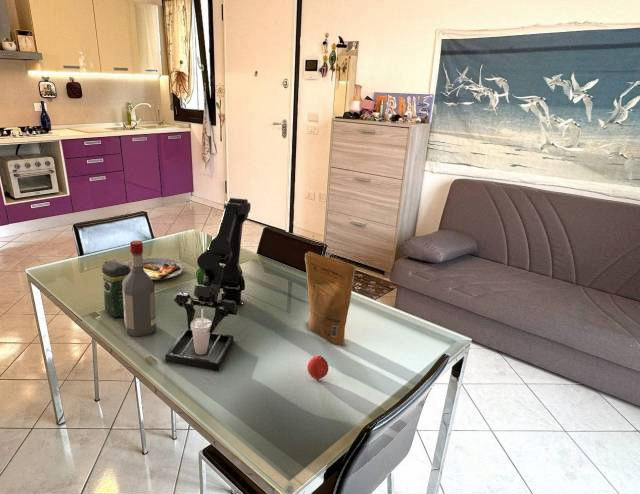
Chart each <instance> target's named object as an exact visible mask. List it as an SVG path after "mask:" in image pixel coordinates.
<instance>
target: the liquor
mask: <svg viewBox="0 0 640 494" xmlns="http://www.w3.org/2000/svg"><path fill="white" fill-rule="evenodd" d="M129 242H130V243H129V247H130V249H129V250H130V253H131V261H132V269H131V270H132V271H131V272H130V273H129V274H128V275H127V276H126V278H125V279H124V280H123V282H122V288H123V305H124V316H123V318H124V319H123V320H124V327H125V331H126V334H127V335H128V336H131V337H134V338H135V337H141V336H149V335H151V334H153V333H155V331H156V329H157V319H156V318H157V317H156V316H157V315H156V292H155V291H156V288H155V284H154V282H153V281H154V280H152V279H151V277H150V276H149V275H148V274H147V273H146V272H145V271H144V269H143V259H142V258H143V253H144V244H143V241H141V240H132V241H129Z"/></svg>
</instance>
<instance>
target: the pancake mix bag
mask: <svg viewBox="0 0 640 494" xmlns="http://www.w3.org/2000/svg"><path fill="white" fill-rule="evenodd" d="M304 262H305V270H306V281H307V292H308V293H307V294H308V307H309V319H308V330H309V331H311V332H313V333H315V334H316V335H318V336H319V337H321V338H322V339H324V340H326V341H327V342H329V343H331V344H332V345H333V344H334V345H341V346H342V345H345V332H346V331H345V330H346V324H347V319H348V314H349V310H350V309H349V308H350V306H351V305H350V304H351V298H352V291H353V285H354V282H355V281H354V280H355V275H356V274H355V273H356V270H357V268H356V267H355V266H353V265H351V264H350V263H347V262H344V261H342V260H339V259H335V258H332V257H328V256H325V255H321V254H318V253H315V252H313V251H310V250H309V251H307V252H305V253H304Z"/></svg>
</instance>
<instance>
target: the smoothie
mask: <svg viewBox="0 0 640 494" xmlns="http://www.w3.org/2000/svg"><path fill="white" fill-rule="evenodd" d="M211 325H212V320H211V319H209V318H206V317H204V308H201V310H200V317H197V318H194V319H193V321H192V322H191V326H190V327H191V329H192V333H193V345H194V346H193V347H194V352H195V354H197V355H205V354H208V351H209V344H210V340H209V337H210V328H211Z"/></svg>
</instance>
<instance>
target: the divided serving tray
mask: <svg viewBox="0 0 640 494" xmlns="http://www.w3.org/2000/svg"><path fill="white" fill-rule="evenodd" d="M187 338H190V340H189V342H188V343H187V344H186V346H185V348H183V350H182V351H181V353H180V354H176V353H177V352H178V351H179V349H180V348H181V346H182V345H183V343H184V342H185V341H186V339H187ZM234 338H235V337H234V335H232V334H225V333H219V332H215V331H213V332H212V334H210V337H209V341H212V342H214V343H213V344H212V346H211V348H210V349H209V350H208V352H207V355H206V357H204V358H200V357H193V356H188V355H184V354H185V352H186V351H187V350H188V348H189V346H190V345H191V344H192V342H194V340H193V333H192V328H191V329H190V330H189V329H188V327H186V328H184V330H183V331H182V332H181V333H180V335H179V336H178V337H177V339H176V340H175V341H174V343H173V344H172V345H171V346H170V348H169V349H168V350H167V352H166V353H165V357H164V358H165V363H170V364H175V365H182V366H186V367H192V368H198V369H202V370H203V369H204V370H208V371H215V372H219V371H220V369H221V368H222V366H223V363H224V362H225V360H226V357H227V355H228V354H229V352H230V350H231V348H232V346H233V344H234ZM218 342H219V343H224V344H225V345H224V347H223V348H222V351H221V352H220V354H219V355H218V358H217V360H211V359H209V357H210V355H211V354H212V352H213V350H214V348H215V347H216V345H217V343H218Z"/></svg>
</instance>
